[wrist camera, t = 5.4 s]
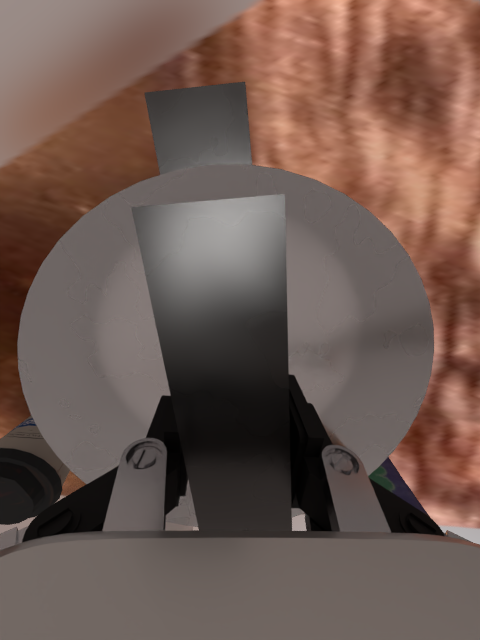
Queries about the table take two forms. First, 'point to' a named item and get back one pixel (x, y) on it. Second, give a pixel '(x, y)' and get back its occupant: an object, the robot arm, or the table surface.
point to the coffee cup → (28, 474)
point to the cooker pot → (200, 126)
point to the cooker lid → (225, 334)
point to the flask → (395, 483)
